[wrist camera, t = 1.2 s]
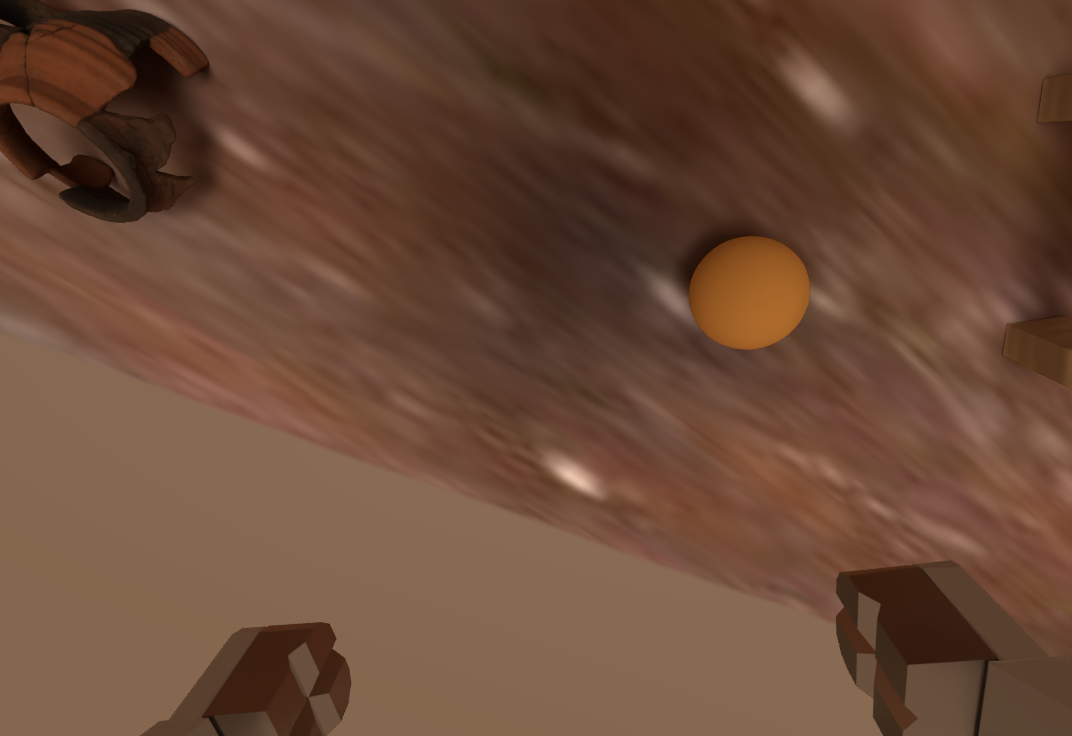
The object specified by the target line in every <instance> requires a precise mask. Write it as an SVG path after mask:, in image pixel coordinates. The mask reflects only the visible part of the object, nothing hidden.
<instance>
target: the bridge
mask: <svg viewBox="0 0 1072 736" xmlns="http://www.w3.org/2000/svg"><path fill="white" fill-rule="evenodd" d="M1057 121H1072V73H1070V74H1065V75H1061V76H1056V77H1051V78H1046V79H1044V81H1043V88H1042V95H1041V101H1040V108H1039V115H1038V122H1057ZM1003 356H1005V357H1007V358H1009V359H1011V360H1013V361H1015V362H1017V363H1019V364H1021V365H1023V366H1025V367H1027V368H1029V369H1031V370H1033V371H1035V372H1037V373H1039V374H1041V375H1043V376H1045V377H1048V378H1050V379H1052V380H1054V381H1056V382H1058V383H1060V384H1062V385H1064V386H1066V387H1068V388H1070V389H1072V319H1071V318H1069V317H1066V316H1060V317H1053V318H1046V319H1040V320H1033V321H1027V322H1020V323H1013V324H1007V329H1006V336H1005V343H1004V350H1003Z"/></svg>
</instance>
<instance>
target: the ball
mask: <svg viewBox="0 0 1072 736" xmlns="http://www.w3.org/2000/svg"><path fill="white" fill-rule="evenodd" d="M809 297H810V283H809V278H808V274H807V271H806V268H805V266H804V265H803V263H802V261H801V260H800V258H799V257H798V256H797V255H796V254H795V253H794V252H793V251H792V250H791V249H790V248H788V247H787V246H785V245H784V244H782V243H780V242H778V241H776V240H773V239H770V238H766V237H760V236H746V237H739V238H735V239H732V240H729V241H726V242H724V243H722V244H720V245H719V246H717V247H716V248H714V249H713V250H712V251H710V252H709V253H708V254H707V255H706V256H705V257H704V258H703V259H702V261H701V262H700V263H699V265H698V266H697V268H696V270H695V272H694V274H693V277H692V279H691V283H690V289H689V303H690V308H691V312H692V315H693V317H694V319H695V321H696V323H697V324H698V326H699V327H700V328H701V329H702V331H703V332H704V333H705V334H706V335H707V336H709V337H710V338H711V339H713V340H714V341H716V342H718V343H720V344H722V345H725V346H727V347H731V348H736V349H757V348H762V347H765V346H768V345H771V344H773V343H775V342H778V341H779V340H781V339H783V338H784V337H785V336H787V335H788V334H789V333H790V332H791V331H792V330H793V329H794V328H795V327H796V326H797V325H798V324H799V322H800V321H801V319H802V317H803V315H804V313H805V311H806V308H807V306H808V302H809Z"/></svg>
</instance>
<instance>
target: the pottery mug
mask: <svg viewBox="0 0 1072 736" xmlns="http://www.w3.org/2000/svg"><path fill="white" fill-rule="evenodd" d="M0 19H1V20H4V21H7V22H9V23H11V24H13V25H14V26H16V27H14V26H8V25H3V24H0V150H1V152H2V153H3V154H4V155H5V156H6V157H7V158H8V159H9V160H10V161H11V162H12V163H13V164H14V165H15V166H16V167H17V168H18V169H19V170H20V171H21V172H22V173H23V174H25V175H26V176H27V177H29V178H30V179H32V180H35V179H37V178H40V177H42V176H43V175H44V174H46V173H50V174H51V175H53V176H54V177H55V178H57V179H58V180H59V181H61V182H62V183H64V184H66V185H68V186H69V187H71V188H70V189H66V190H64V191H62V192H60V193H59V197H60V198H61V199H62V200H64V201H65V202H66V203H67V204H68V205H69V206H71V207H72V208H74V209H76V210H79V211H80V212H82V213H85V214H87V215H89V216H93V217H95V218H98V219H101V220H106V221H109V222H117V223H125V222H132V221H137V220H139V219H140V218H141V217H143V216H144V215H145V214H146V213H147V212H159V211H162V210H167V209H169V208H171V207H172V206H173V204H174V203H175V201H176V200H177V199H178V198H179V197H180V196H181V195H182V194H183V193H184V192H185V191H187V190H188V189H189V188H190V187H191V186H192V185H193V184H194V183H195V181H196V178H195V177H193V176H175V175H172V174H167V173H164V172H159V171H157V170H158V169H160V168H161V167H163V166H164V165H165V164H166V162H167V160H168V159H169V156H170V150H171V145H172V144H173V142H174V141H175V139H176V132H175V129H174V127H173V124H172V121H171V120H170V118H169V117H168V116H167V115H166V114H159V115H157V116H154V117H152V118H150V119H145V118H142V117H132V116H123V115H119V114H116V113H111V112H107V111H105V110H104V109H105V108H106V106H107V105H108V104H109V103H110V102H111V101H112V100H113V99H115V98H116V97H117V96H119V95H120V94H121V93H123V92H125V91H128V90H130V89H132V88H133V87H134V85H135V81H136V79H137V70H136V68H135V67H134V65H133V64H132V62H131V61H130V60H129V58H131V57H133V55H134V54H135V53H136V52H137V51H138V49H139V48H141V47H150V48H151V49H153V50H154V51H155V52H157V53H158V54H159V55H161V56H162V57H163V58H164V59H165V60H166V61H168V62H169V63H170V64H171V65H172V66H173V67H174V68H175V69H176V70H177V71H178V72H179V73H180V74H181V75H182V76H184V77H185V78H190V77H192V76H193V75H195V74H196V73H197V72H198V70H199V69H202V68H204V67H206V66H208V65H209V62H208V59H207V58H206V57H205V56H204V55H203V53H202V52H201V51H200V50H199V48H198V47H197V46H196V45H194V44H193V43H192V42H191V41H190V40H189V39H188V38H187V37H186V36H184V35H183V34H181V33H180V32H179V31H178V30H176V29H175V28H173V27H171V26H170V25H169V24H168V23H166V22H164V21H163V20H161V19H159V18H157V17H155V16H153V15H151V14H148V13H145V12H141V11H137V10H130V9H129V10H128V9H125V10H117V11H102V12H98V11H89V10H87V11H80V12H77V11H68V10H67V11H64V12H62V11H58V10H56V9H53V8H51V7H49V6H47V5H45V4H44V3H42V2H40V1H39V0H0ZM9 103H19V104H24V105H29V106H33V107H37V108H38V109H40V110H42V111H45V112H47V113H49V114H51V115H53V116H55V117H57V118H59V119H60V120H62V121H64V122H66V123H67V124H69V125H70V126H72V127H74V128H76V129H78V130H79V131H80V132H81V133H82V134H83V135H84V136H86V137H87V138H88V139H89V140H90V141H91V142H93V143H94V144H95V145H96V146H97V147H98V148H99V149H101V150H102V151H103V153H104V154H105V155H106V156H107V157H108V158H109V159H110V160H111V161H112V163H113V164H114V165H115V167H116V168H117V169H118V170H119V172H120V173H121V175H122V176H123V178H124V179H125V181H126V184H127V186H128V187H129V193H130V199H128V198H126V197H124V196H123V195H121V194H120V193H118V192H116V191H115V190H114V189H112V188H111V187H109V185H110V184H111V178H112V169H111V168H109V167H108V166H106V165H104V164H102V163H101V162H99V161H97V160H95V159H92V158H90V157H88V156H85V155H81V154H80V155H77V156H74V157H73V158H72V161H71V162H70V163H69V164H66V165H62V166H60V165H59V164H58V163H57V162H56V161H54V160H53V159H52V158H51V157H49V156H48V155H47V154H46V153H45V152H44V151H43V150H42V149H41V148H40V147H39V146H38V145H37V144H36V143H35V142H34V141H33V140H32V139H31V138H30V136H29V135H27V133H26V132H25V130H24V128H23V127H22V125H21V124H20V122H19V121H18V119H17V118H16V116H15V114H14V113H13V111H12V109H11V107H10V104H9Z"/></svg>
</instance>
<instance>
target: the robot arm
mask: <svg viewBox="0 0 1072 736" xmlns="http://www.w3.org/2000/svg"><path fill="white" fill-rule="evenodd" d="M836 594H837V596H838V597H839V599H840V601H841V602H842V604H843V606H844V608H843V609H842V610H841V611H840V612H839V613H838V614H837V616H836V634H837V638H838V642H839V647H840V650H841V655H842V657H843V659H844V662H845V664H846V667H847V669H848V671H849V673H850V675H851V677H852V679H853V681H854V683H855V685H856V686H857V687H858V688H859V689H861V690H862V691H864V692H865V693H866V694H868V695H869V696H871V697H872V698H873V718H874V720H875V722H876V723H877V725H878V727H879V729H880V731H881V733H882V734H883V736H1072V660H1070V659H1068V658H1066V657H1064V656H1063V657H1050V656H1049V655H1048V654H1047V653H1046V652H1045V651H1044V650H1043V649H1042V648H1041V647H1040V646H1039V645H1038V644H1037V643H1036V642H1035V641H1034V640H1033V639H1032V638H1031V637H1030V636H1029V635H1028V634H1027V633H1026V632H1025V631H1024V630H1023V629H1022V628H1021V627H1020V626H1019V625H1018V624H1017V623H1016V622H1015V621H1014V620H1013V619H1012V618H1011V617H1010V616H1009V615H1008V614H1007V613H1006V612H1005V611H1004V610H1003V609H1002V608H1001V607H1000V605H999V604H998V603H997V602H996V601H995V600H994V599H993V598H992V597H991V596H990V595H989V594H988V593H987V592H986V591H985V590H984V589H983V588H982V587H981V586H980V585H979V584H978V583H977V582H976V581H975V580H974V579H973V578H972V577H971V576H970V575H969V574H968V573H967V572H966V571H965V570H964V569H963V568H962V567H961V566H960V565H959V564H957V563H955V562H953V561H951V560H950V561H941V562H931V563H922V564H913V565H912V566H910V565H905V566H895V567H886V568H876V569H867V570H857V571H848V572H839V575H838V577H837V579H836ZM335 641H336V636H335V634H334V632H333V630H332V628H331V626H330V624H328V623H322V622H317V623H303V624H288V625H273V626H268V627H253V628H242V629H240V630H239V631H237V632H235V633H234V634H232V635H231V637H230V638H229V639H228V641H227V642H226V643H225V645H224V646H223V648H222V649H221V650H220V651H219V653H218V654H217V656H216V657H215V658H214V660H213V661H212V662H211V664H210V665H209V666H208V668H207V669H206V671H205V672H204V673H203V675H202V676H201V677H200V678H199V680H198V681H197V683H196V684H195V685H194V687H193V688H192V689H191V691H190V692H189V693H188V695H187V696H186V697H185V699H184V700H183V701H182V703H181V704H180V705H179V707H178V708H177V709H176V711H175V712H174V713H173V715H172V716H171V718H170V719H169V720H167V721H159V722H158V723H156V724H155V725H154V726H152V727H151V728H150V729H149V730H147V731H146V732H144V733H143V734H142V735H140V736H327V735H328V734H329V733H330V732H331V731H332V730H333V729H334V728H335V727H336V726H337V725H338V724H339V723H340V722H341V721H342V718H343V715H344V713H345V711H346V708H347V706H348V703H349V696H350V688H351V677H350V670H349V667H348V664H347V662H346V659H345V658H344V657H343V656H341V655H340V654H339V653H337V652H336V651H335V650H333V649H332V648H333V646H334V644H335Z"/></svg>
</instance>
